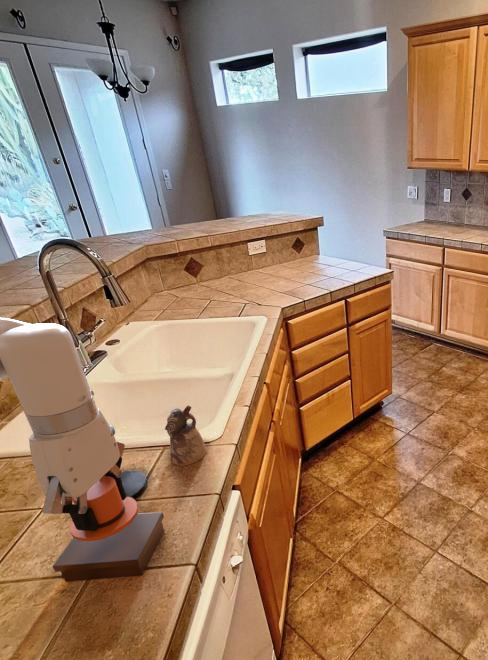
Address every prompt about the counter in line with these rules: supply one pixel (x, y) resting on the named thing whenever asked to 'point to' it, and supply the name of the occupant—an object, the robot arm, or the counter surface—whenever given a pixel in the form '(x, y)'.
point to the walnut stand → (113, 552)
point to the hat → (106, 510)
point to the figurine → (184, 437)
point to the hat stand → (132, 480)
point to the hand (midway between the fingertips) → (102, 512)
